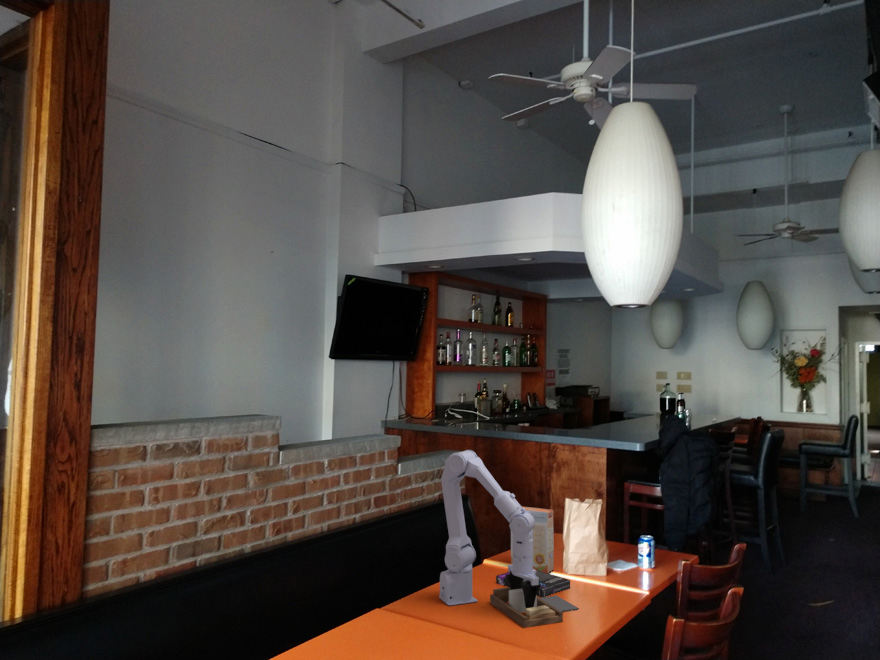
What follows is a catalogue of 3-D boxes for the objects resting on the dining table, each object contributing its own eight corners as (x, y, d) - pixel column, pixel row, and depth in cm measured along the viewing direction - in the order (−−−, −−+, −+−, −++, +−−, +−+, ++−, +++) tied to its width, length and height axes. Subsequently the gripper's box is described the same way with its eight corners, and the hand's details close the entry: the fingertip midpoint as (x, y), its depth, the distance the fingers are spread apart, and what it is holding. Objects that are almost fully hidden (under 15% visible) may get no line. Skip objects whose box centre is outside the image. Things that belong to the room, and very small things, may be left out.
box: (495, 586, 217) (542, 600, 203) (495, 575, 217) (542, 588, 203) (524, 577, 226) (571, 589, 212) (524, 566, 227) (570, 578, 212)
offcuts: (527, 625, 180) (527, 611, 180) (522, 622, 183) (522, 608, 183) (556, 621, 183) (556, 607, 184) (551, 618, 186) (551, 604, 186)
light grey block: (512, 614, 189) (512, 592, 190) (508, 611, 191) (508, 590, 191) (536, 610, 192) (536, 589, 193) (533, 608, 194) (533, 587, 194)
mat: (551, 613, 189) (551, 612, 189) (530, 600, 200) (530, 599, 201) (578, 609, 193) (578, 608, 193) (556, 596, 204) (556, 595, 204)
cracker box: (554, 570, 231) (554, 509, 233) (547, 575, 226) (547, 512, 228) (517, 564, 239) (517, 504, 240) (510, 568, 234) (510, 507, 235)
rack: (524, 627, 179) (524, 612, 179) (490, 603, 198) (490, 589, 198) (562, 621, 183) (562, 606, 183) (525, 598, 202) (525, 584, 202)
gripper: (547, 560, 187) (548, 610, 186) (522, 548, 201) (522, 594, 200) (525, 563, 185) (525, 613, 184) (501, 550, 198) (501, 597, 197)
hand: (522, 603), depth 192 cm, fingers open, 7 cm apart
